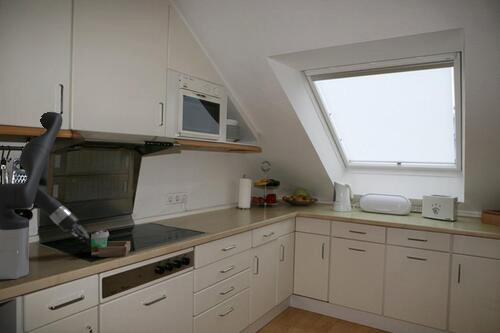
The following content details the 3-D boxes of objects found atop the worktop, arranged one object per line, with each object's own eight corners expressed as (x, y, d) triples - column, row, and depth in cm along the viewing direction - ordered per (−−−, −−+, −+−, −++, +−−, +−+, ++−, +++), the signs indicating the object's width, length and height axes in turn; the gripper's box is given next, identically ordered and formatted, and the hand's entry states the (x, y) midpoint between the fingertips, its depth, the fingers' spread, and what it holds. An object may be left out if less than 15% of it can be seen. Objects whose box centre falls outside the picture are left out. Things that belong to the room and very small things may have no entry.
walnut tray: (126, 256, 153) (126, 247, 153) (98, 257, 151) (98, 247, 151) (130, 249, 166) (130, 240, 166) (104, 250, 163) (104, 241, 163)
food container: (105, 256, 152) (106, 233, 152) (90, 257, 151) (91, 234, 151) (111, 249, 164) (111, 228, 164) (97, 250, 163) (97, 228, 163)
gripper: (66, 214, 148) (96, 242, 151) (74, 210, 161) (102, 236, 164) (52, 227, 147) (82, 255, 150) (62, 222, 160) (90, 247, 163)
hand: (93, 245), depth 157 cm, fingers closed
